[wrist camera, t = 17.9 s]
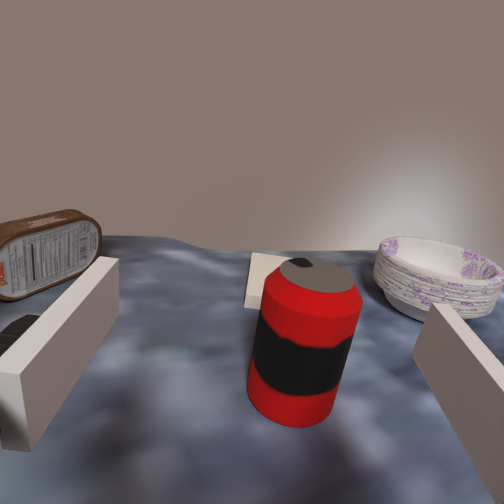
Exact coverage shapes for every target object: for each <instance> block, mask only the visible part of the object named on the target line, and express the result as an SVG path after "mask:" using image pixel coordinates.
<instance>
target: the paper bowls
mask: <svg viewBox="0 0 504 504" xmlns="http://www.w3.org/2000/svg"><path fill="white" fill-rule="evenodd" d="M373 277H374V279H375V281H376V283H377V284H378V285H379V286H380V287H381V288H382V289H383V290H384V294H385V297H386V298H387V300H388V301H389V303H390V304H391V305H392V306H393V307H395V308H396V309H397V310H399V311H400V312H402V313H403V314H405V315H407V316H409V317H411V318H414V319H416V320H419V321H422V322H424V321H425V319H426V316H427V314H428V311H429V309H430V306H431V304H432V302H433V303H440V304H447V305H450V306H451V307H452V308H453V309H454V310H455V311H456V312H457V314H458V315H459V316H460V317H461V318H462V319H463V320H464V321H465V320H466V319H467V318H477V317H482V316H485V315H488V314H489V313H490V312H491V311H492V310H493V308H494V306H495V304H496V301H497V299H498V297H499V295H500V291H501V289H502V288H503V285H504V272H503V270H502V269H501V268H500V267H499V266H498V265H497V264H495V263H494V262H492V261H491V260H489V259H487V258H485V257H483V256H482V255H479V254H477V253H475V252H473V251H470V250H467V249H465V248H462V247H458V246H455V245H452V244H448V243H445V242H441V241H436V240H431V239H425V238H418V237H392V238H388V239H386V240H384V241H383V242H382V243H381V244H380V246H379V249H378V253H377V257H376V261H375V264H374V270H373Z"/></svg>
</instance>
